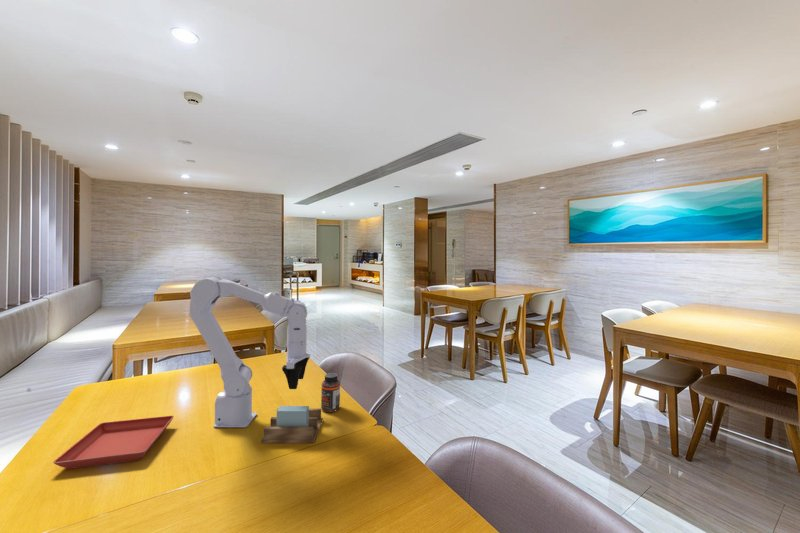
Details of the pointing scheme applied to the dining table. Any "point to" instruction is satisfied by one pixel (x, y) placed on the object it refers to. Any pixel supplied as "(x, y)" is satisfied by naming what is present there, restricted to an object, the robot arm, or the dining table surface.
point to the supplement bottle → (330, 393)
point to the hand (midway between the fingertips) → (296, 383)
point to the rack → (293, 430)
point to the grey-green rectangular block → (293, 416)
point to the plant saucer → (114, 442)
